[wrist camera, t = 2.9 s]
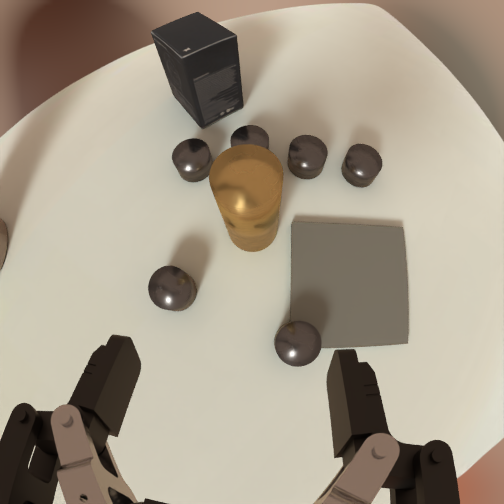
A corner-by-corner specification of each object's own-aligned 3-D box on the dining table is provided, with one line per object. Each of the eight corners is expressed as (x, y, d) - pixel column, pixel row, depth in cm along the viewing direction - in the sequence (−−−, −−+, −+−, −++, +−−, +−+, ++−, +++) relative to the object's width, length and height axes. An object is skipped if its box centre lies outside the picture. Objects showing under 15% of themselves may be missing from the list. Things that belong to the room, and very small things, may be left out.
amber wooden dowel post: (227, 251, 26) (205, 208, 16) (230, 205, 27) (212, 144, 18) (276, 252, 26) (283, 209, 16) (277, 206, 27) (283, 144, 17)
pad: (289, 347, 24) (289, 348, 23) (291, 224, 27) (292, 221, 26) (405, 343, 23) (408, 343, 23) (400, 229, 26) (403, 227, 25)
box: (245, 107, 30) (238, 34, 20) (201, 131, 30) (180, 58, 19) (211, 75, 32) (198, 9, 22) (172, 95, 31) (148, 30, 21)
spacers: (155, 353, 24) (144, 355, 22) (179, 141, 29) (173, 128, 27) (384, 358, 23) (395, 361, 21) (369, 147, 28) (376, 134, 26)
